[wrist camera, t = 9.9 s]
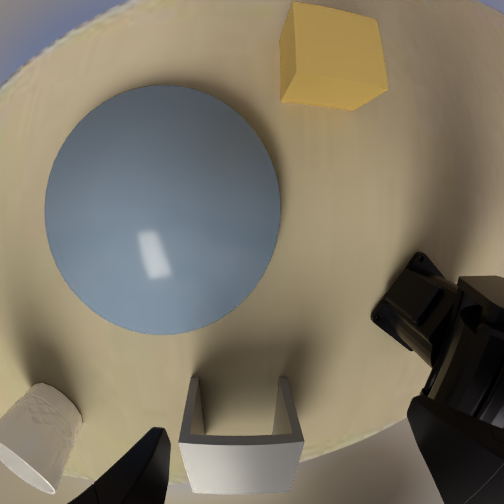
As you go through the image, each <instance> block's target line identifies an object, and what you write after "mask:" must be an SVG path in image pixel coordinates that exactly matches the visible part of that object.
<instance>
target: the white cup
mask: <svg viewBox="0 0 504 504" xmlns="http://www.w3.org/2000/svg"><path fill="white" fill-rule="evenodd" d="M81 427H82V417H81V415H80V413H79V411H78V410H77V408H76V406H75V405H74V404H73V403H72V402H71V401H70V400H69V399H68V398H67V397H66V396H65V395H64V394H63V393H61V392H60V391H58V390H57V389H55V388H54V387H52V386H50V385H47V384H44V383H38V384H34V385H33V386H32V387H31V388H30V390H29V391H28V392H27V393H26V394H25V395H24V396H23V397H21V398H20V399H19V400H18V401H17V402H16V403H15V404H14V405H13V406H12V407H11V408H10V409H9V410H8V411H7V412H6V413H5V414H4V415H3V416H2V418H1V419H0V460H1V461H2V462H3V463H4V464H5V465H6V466H7V467H8V468H9V469H10V470H11V471H13V472H14V473H15V474H16V475H18V476H19V477H20V478H21V479H23V480H24V481H26V482H27V483H29V484H30V485H32V486H34V487H35V488H37V489H39V490H41V491H43V492H46V493H49V494H55V492H56V490H57V487H58V485H59V482H60V479H61V477H62V474H63V472H64V469H65V467H66V465H67V462H68V460H69V457H70V454H71V451H72V449H73V447H74V443H75V439H76V437H77V435H78V433H79V431H80V429H81Z"/></svg>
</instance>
